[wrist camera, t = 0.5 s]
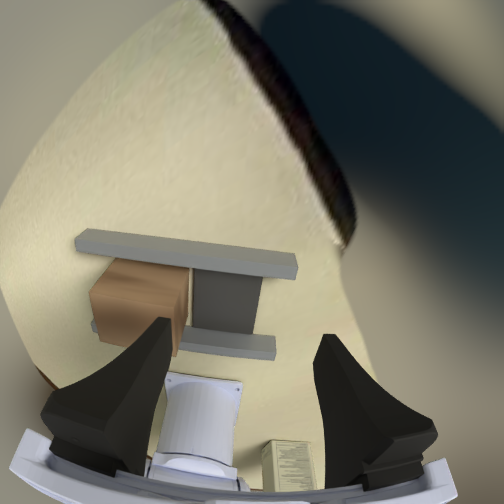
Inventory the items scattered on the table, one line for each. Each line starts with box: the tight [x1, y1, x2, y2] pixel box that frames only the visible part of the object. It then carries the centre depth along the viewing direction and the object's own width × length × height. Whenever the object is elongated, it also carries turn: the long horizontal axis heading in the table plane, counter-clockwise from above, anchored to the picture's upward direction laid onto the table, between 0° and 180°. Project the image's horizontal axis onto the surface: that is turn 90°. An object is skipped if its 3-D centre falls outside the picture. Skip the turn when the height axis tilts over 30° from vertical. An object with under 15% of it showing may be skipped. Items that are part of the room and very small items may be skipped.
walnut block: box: [89, 258, 189, 357], centre depth 20 cm, size 4×6×5 cm
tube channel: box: [75, 228, 298, 361], centre depth 21 cm, size 9×16×2 cm, turn 82°
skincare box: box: [261, 440, 317, 492], centre depth 29 cm, size 6×4×12 cm
